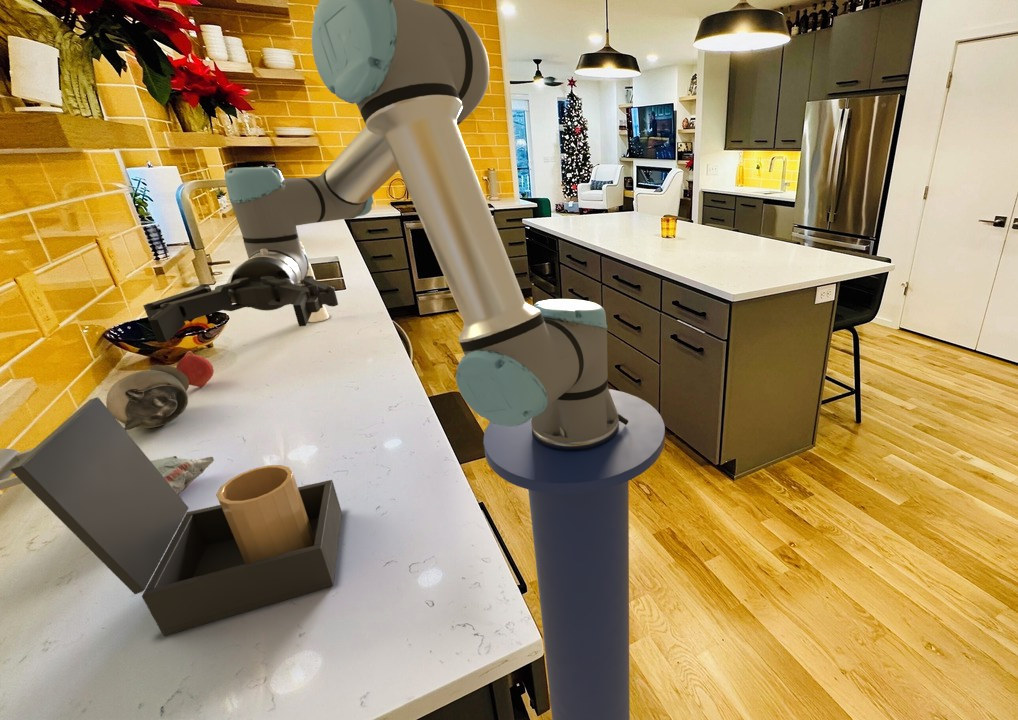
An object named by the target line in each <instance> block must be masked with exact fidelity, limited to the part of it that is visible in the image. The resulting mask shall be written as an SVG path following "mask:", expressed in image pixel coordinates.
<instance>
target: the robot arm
mask: <svg viewBox="0 0 1018 720" xmlns="http://www.w3.org/2000/svg"><path fill="white" fill-rule="evenodd" d="M317 3H318V4H317V5H316V8H315V11H314V13H313V14H314V15H313V24H312V27H311V49H312V54H313V60H314V63H315V67H316V69H317V72H318V75H319V77H320V79H321V81H322V82H323V84H324V86H325V87H326V89H328V90H329V92H330V93H332V94H333V95H335V96H336V97H337V98H338V99H340V100H342V101H343V102H345V103H348V104H352V105H354V104H356V106H357V108H358V110H359V113H360V115H361V117H362V120H363V122H364V125H365V126H364V127H363V128H362V129H361V130H360V132H358V133H357V135H356V136H355V137H354V138H353V139H352V140H351V142H350V143H349V144H348V145H347V146H346V147H345V148H344V149H343V150H342V151H341V152H340V153H339V155H338V156H337V157H336V158H335V159H334V160H333V161H332V162H331V163H330V165H329V166H328V167H327V168H326V169H325V170H324V171H323V172H322V173H321V174H320V175H317V176H311V177H284V176H283V174H282V172H281V170H280V169H278V168H277V167H271V166H269V167H267V166H255V167H233V168H232V167H231V168H229V169H227V170H226V171H225V173H224V180H225V186H226V190H227V191H226V192H227V195H228V199H229V202H230V204H231V207H232V210H233V212H234V215H235V218H236V221H237V225H238V227H239V230H240V232H241V236H242V240H243V245H244V248H245V251H246V254H247V260H245V261H244V262H243V263H241V264H240V265H239V266H238V267H236V269H235V270H234V271H233V273H232V275H231V277H230V282H228V283H224V284H220V285H217V286H215V287H214V289H212V288H211V287H210V284H205V283H204V284H200V285H197V286H196V287H195V288H193V289H189V290H186V291H183V292H180V293H176V294H174V295H170V296H168V297H164V298H162V299H159V300H155V301H152V302H148V303H146V304H143V305H142V306H143V309H144V311H145V314H146V316H147V318H148V324H149V325H150V327H151V331H152V332H153V335H154V337H155V339H156V342H157V344H163V343H168V342H169V341H170V340H171V339H172V338H173V337H174V336H175V335H176V334H177V333H179V332H180V331H181V330H182V329H183V328H184V327H185V326H186V322H187V321H191V320H195V319H198V318H201V317H205V316H208V315H212V314H214V313H218V312H222V311H227V312H235V311H237V310H240V309H244V308H252V309H253V310H254V309H255V310H259V311H267V312H269V311H275V310H279V309H281V308H283V307H286V306H289V305H292V307H293V311H294V314H295V317H296V321H297V324H298V327H307V325H308V323H309V322H308V320H309V318H310V316H311V314H312V313H313V312H318V311H319V310H320V308H323V306H322V305H323V304H324V305H325V306H328V307H333V308H334V307H336V306H338V305H339V303H338V297H337V292H336V290H335V287H334V286H332V285H329V284H326V283H324V282H321V281H320V280H317V279H316V278H315V279H314V277H313V276H307V273H308V269H309V263H310V261H309V256H308V255H307V253H305V252H306V251H305V252H304V250H303V249H302V248H301V245H300V242H301V241H300V237H299V233H298V229H297V226H303V225H309V224H317V223H318V224H319V223H325V222H332V221H340V220H353V219H356V218H357V217H362V216H365V215H367V214H369V213H370V212H371V211H372V210H373V206H372V205H373V204H374V194H376V192H377V191H378V190H379V189H380V188H381V187H383V185H385V183H387V182H388V181H389V180H390V179H391V178H392V177H393V176H394V175H395V174H396V173H398V171H399V173H400V175H401V178H402V180H403V182H404V184H405V188H406V190H407V192H408V194H409V197H410V199H411V201H412V204H413V206H414V208H415V211H416V213H417V216H418V218H419V220H420V222H421V225H422V228H423V230H424V232H425V234H426V237H427V239H428V241H429V244H430V246H431V249H432V251H433V253H434V256H435V258H436V260H437V262H438V265H439V267H440V270H441V272H442V274H443V277H444V279H445V282H446V284H447V285H448V288H449V292H450V294H451V296H452V298H453V300H454V303H455V305H456V307H457V310H458V312H459V315H460V317H461V319H462V321H463V322H462V323H463V326H462V327H463V328H462V329H461V332H460V334H459V337H458V343H459V346H460V348H461V350H462V352H463V354H464V355H463V356H462V358H461V359H460V361H459V362H458V364H457V367H456V374H455V382H456V386H457V388H458V392H459V393H460V395H461V397H462V398H463V400H464V401H465V403H466V404H467V405H468V407H469V408H470V409H471V410H472V411H473V412H475V413H476V414H477V415H478V416H479V417H480V418H484V419H486V420H487V421H488V422H489V423H490V422H492V423H494V424H497V425H501V426H517V425H521V424H523V423H525V422H527V421H528V420H530V419H531V418H532V420H531V427H532V435H533V437H534V439H535V440H536V441H537V442H538V443H539V444H541V445H543V446H545V447H547V448H550V449H553V450H558V451H566V452H575V451H584V450H589V449H593V448H596V447H599V446H601V445H604V444H606V443H607V442H609V441H610V440H612V439H613V438H614V437H615V435H616V434H617V432H618V430H619V421H620V422H622V423H623V424H625V425H626V424H627V423H628V420H627V419H625V418H624V417H622V416H621V415H620V414H618V412H617V410H616V407H615V404H614V402H613V399H612V397H611V394H610V391H609V389H610V388H609V384H608V383H609V381H608V378H609V375H608V374H609V372H608V326H609V325H608V324H607V314H606V310H605V308H604V307H603V306H601V305H600V304H598V303H597V302H594V301H593V302H592V301H589V300H583V299H571V298H555V299H553V298H552V299H545V300H540V301H536V302H535V303H534V304H533V305H531V304H529V303H528V302H526V301H525V298H524V295H523V293H522V290H521V287H520V285H519V282H518V279H517V277H516V275H515V271H514V269H513V266H512V264H511V261H510V259H509V256H508V254H507V251H506V248H505V246H504V243H503V241H502V238H501V235H500V233H499V230H498V228H497V224H496V223H495V219H494V217H493V215H492V213H491V210H490V207H489V205H488V202H487V199H486V196H485V194H484V192H483V189H482V186H481V183H480V182H479V178H478V176H477V173H476V171H475V168H474V166H473V163H472V160H471V158H470V155H469V153H468V150H467V147H466V145H465V142H464V139H463V137H462V134H461V131H460V129H459V125H460V124H461V123H462V122H463V121H464V120H465V119H466V118H468V117H469V116H470V115H471V114H472V112H474V111H475V109H477V107H478V106H479V105H480V103H481V101H482V100H483V98H484V97H485V95H486V92H487V89H488V87H489V83H490V72H491V71H490V62H489V60H490V59H489V57H488V53H487V49H486V47H485V45H484V42H483V40H482V38H481V37H480V35H479V33H478V32H477V31H476V30H475V29H474V28H473V26H472V25H471V24H470V23H469V22H468V21H467V20H466V19H464V17H462V16H461V15H460V14H457V13H456V12H454V11H452V10H451V9H448V8H445V7H441V6H438V5H432V4H430V3H429V4H428V3H425V2H421V1H418V0H319V1H318V2H317Z"/></svg>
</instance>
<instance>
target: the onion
mask: <svg viewBox="0 0 1018 720" xmlns="http://www.w3.org/2000/svg"><path fill="white" fill-rule="evenodd" d="M175 368H177V369H178V370H179V371H181V372H182V373H184V374H185V375H186V376H187V378H188V380H189V386H192V387H198V388H202V387H205V386H206V384H207V383H208V382H209V381H210V380H211V379H212V378H213V376H214V372H215V371H214V367H213V365H212V362H210V360H208V359H207V358H205V357H203V356H200V355H196V354H194V353H193V351H192V350H191V351H187V352H186V353H185V354H184V356H183V357H182V358H181V359H180V360H178V362H177V364H176V366H175Z"/></svg>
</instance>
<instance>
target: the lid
mask: <svg viewBox="0 0 1018 720" xmlns="http://www.w3.org/2000/svg"><path fill="white" fill-rule="evenodd" d="M124 428H125V427H123V425H122V424H121V422H120V421H118V420H117V419H116V418H115V417H114V416H113V415H112V413H111V412H110V411H109V410H108V409H107V405H105V404H104V402H103V401H102V400H101V399H100V398H99V397H93V398H90V399H89V400H88V401H86V402H85V403H84V404H83V405H81V407H80V408H78V409H77V410H76V411H75V412H74V413H73V414H72V415H70V417H68V418H67V419H66V420H65V421H63V422H62V423H61V424H60V425H59V426H58V427H56V428H55V429H54V430H53V431H52V432H51V433H49V435H47V436H46V437H45V438H43V440H42V441H40V443H38V444H37V445H36V446H35V447H33V448H28V449H26V450H23V451H19V450H17V449H13V448H0V491H3V490H6V489H9V488H12V487H15V486H18V485H21V484H24V485H25V487H27V488H28V489H29V490H30V491H31V492H32V493H33V495H35V496H36V497H37V498H38V499H39V500H40V501H41V502H42V504H44V505H45V506H46V507H47V509H49V511H51V512H52V514H54V515H55V517H57V518H58V519H59V521H61V522H62V523H63V525H65V527H66V528H68V530H70V531H71V532H72V533H73V534H74V536H76V537H77V538H78V539H79V540H80V542H81V543H83V544H84V545H85V546H86V547H87V548H88V549H89V550H90V551H91V553H93V554H94V555H95V556H96V557H97V558H98V559H99V560H100V562H101V563H103V564H104V565H105V566H106V567H107V568H108V570H110V571H111V572H112V574H113V575H115V576H116V577H117V578H118V579H119V580H120V581H121V582H122V583H123V584H124V585H125V586H126V587H127V588H128V590H130V591H131V592H132V594H134V595H137V594H140V593H144V591H145V589H146V588H147V586H148V584H149V582H150V580H151V578H152V576H153V575H154V573H155V571H156V569H157V567H158V565H159V563H160V562H161V560H162V558H163V556H164V554H165V552H166V550H167V549H168V547H169V545H170V543H171V541H172V539H173V537H174V536H175V534H176V532H177V530H178V528H179V526H180V524H181V522H182V521H183V519H184V517H185V515H186V513H187V512H188V510H189V506H188V505H187V504H186V503H185V501H184V500H183V499H182V498H181V496H180V495H179V493H178V494H177V493H176V492H175V490H174V489H173V488H172V487H171V486H170V484H169V483H168V482H167V481H166V479H165V478H164V477H163V476H162V475H161V473H160V472H159V471H158V470H157V468H156V467H155V466H154V465H153V464H152V462H151V461H152V460H150V459H149V457H148V456H147V455H146V454H145V452H144V451H143V450H142V449H141V447H140V446H139V445H138V444H137V443H136V441H135V440H134V439H133V437H132V436H131V435H130V434H129V433H128V432H127V430H125V429H124ZM12 475H13V476H12Z"/></svg>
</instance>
